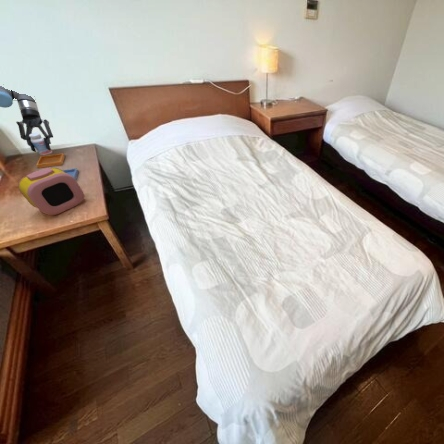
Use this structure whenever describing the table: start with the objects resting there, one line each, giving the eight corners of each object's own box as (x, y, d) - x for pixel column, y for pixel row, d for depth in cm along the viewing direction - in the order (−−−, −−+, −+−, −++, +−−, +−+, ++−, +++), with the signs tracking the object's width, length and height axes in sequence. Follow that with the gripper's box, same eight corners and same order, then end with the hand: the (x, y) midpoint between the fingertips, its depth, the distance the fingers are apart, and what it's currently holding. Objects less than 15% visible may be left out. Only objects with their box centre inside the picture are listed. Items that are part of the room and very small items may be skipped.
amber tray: (38, 168, 145) (36, 165, 143) (42, 159, 152) (40, 155, 151) (62, 165, 149) (60, 161, 148) (65, 156, 156) (63, 153, 155)
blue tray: (50, 185, 134) (48, 182, 133) (54, 174, 141) (52, 171, 140) (76, 181, 139) (74, 178, 137) (78, 171, 146) (76, 168, 144)
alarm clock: (48, 220, 116) (20, 186, 102) (36, 211, 119) (7, 177, 106) (89, 200, 128) (69, 167, 115) (77, 193, 131) (56, 160, 118)
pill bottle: (44, 156, 144) (32, 137, 136) (37, 153, 145) (24, 135, 137) (55, 151, 148) (43, 133, 140) (47, 149, 149) (35, 131, 142)
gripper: (54, 112, 148) (65, 150, 149) (12, 115, 141) (24, 154, 142) (47, 106, 141) (58, 145, 142) (2, 109, 134) (15, 150, 135)
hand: (41, 150), depth 142 cm, fingers closed on pill bottle, 6 cm apart
